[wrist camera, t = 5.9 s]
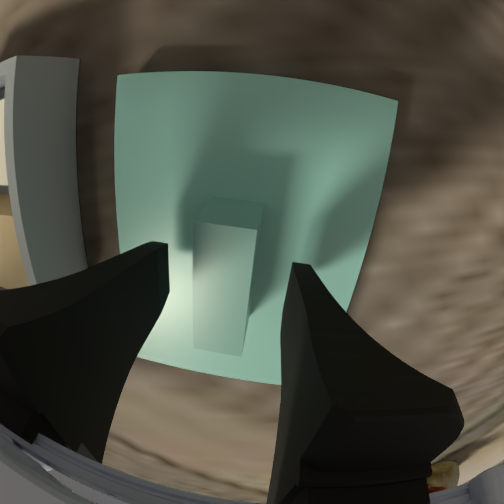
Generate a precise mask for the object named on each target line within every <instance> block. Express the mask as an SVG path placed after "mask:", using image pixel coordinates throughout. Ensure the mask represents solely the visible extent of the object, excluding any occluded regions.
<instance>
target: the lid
mask: <svg viewBox="0 0 504 504" xmlns="http://www.w3.org/2000/svg"><path fill="white" fill-rule="evenodd" d="M397 107H398V101H396V100H393V99H389V98H386V97H382V96H378V95H375V94H371V93H367V92H363V91H358V90H354V89H350V88H345V87H340V86H336V85H330V84H325V83H320V82H314V81H308V80H302V79H295V78H288V77H280V76H271V75H261V74H250V73H236V72H214V71H169V72H148V73H134V74H123V75H118V76H117V89H116V105H115V134H114V166H115V196H116V213H117V226H118V238H119V248H120V254H122V253H124V252H126V251H128V250H131V249H133V248H135V247H137V246H140V245H142V244H145V243H147V242H151V241H156V242H163V243H168V256H169V282H170V293H169V295H168V298H167V300H166V303H165V306H164V308H163V310H162V313H161V315H160V316H159V318H158V320H157V322H156V324H155V325H154V327H153V329H152V331H151V332H150V334H149V336H148V338H147V339H146V341H145V343H144V344H143V346H142V348H141V350H140V352H139V353H138V355H137V357H139V358H143V359H147V360H150V361H154V362H158V363H162V364H167V365H171V366H175V367H179V368H184V369H189V370H193V371H198V372H203V373H208V374H213V375H219V376H224V377H230V378H236V379H242V380H248V381H255V382H262V383H270V384H277V385H281V347H280V331H281V321H282V311H283V306H284V301H285V296H286V291H287V286H288V281H289V276H290V271H291V266H292V262H297V263H304V264H310V265H311V266H312V268H313V269H314V271H315V272H316V273H317V275H318V276H319V278H320V279H321V281H322V282H323V284H324V285H325V287H326V288H327V289H328V291H329V292H330V293H331V295H332V296H333V297H334V298H335V300H336V301H337V302H338V303H339V305H340V306H341V307H342V308H343V309H344V310H345V311H347V309H348V306H349V303H350V300H351V297H352V294H353V291H354V288H355V285H356V282H357V279H358V275H359V272H360V269H361V266H362V263H363V259H364V256H365V252H366V249H367V245H368V242H369V238H370V235H371V231H372V227H373V224H374V220H375V216H376V212H377V208H378V204H379V200H380V196H381V191H382V187H383V183H384V178H385V174H386V169H387V164H388V159H389V154H390V149H391V143H392V138H393V132H394V126H395V120H396V114H397Z"/></svg>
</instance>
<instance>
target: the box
mask: <svg viewBox="0 0 504 504" xmlns="http://www.w3.org/2000/svg"><path fill="white" fill-rule="evenodd" d="M79 62H80V59H76V58H65V57H51V56H26V55H17V56H14V57H12V58H9V59H7V60H5V61H3V62H0V290H7V289H15V288H21V287H26V286H31V285H35V284H39V283H43V282H47V281H51V280H55V279H59V278H62V277H65V276H68V275H71V274H74V273H77V272H80V271H82V270H85V269H87V268H88V263H87V258H86V252H85V245H84V238H83V231H82V223H81V215H80V205H79V194H78V181H77V162H76V103H77V85H78V73H79Z"/></svg>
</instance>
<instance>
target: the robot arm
mask: <svg viewBox="0 0 504 504" xmlns="http://www.w3.org/2000/svg"><path fill="white" fill-rule="evenodd" d="M169 293H170V282H169V256H168V243H163V242H156V241H151V242H147V243H145V244H142V245H140V246H137V247H135V248H133V249H131V250H128V251H126V252H124V253H122V254H120V255H117V256H115V257H113V258H111V259H109V260H106V261H104V262H101V263H99V264H97V265H94V266H92V267H90V268H87V269H85V270H82V271H80V272H77V273H74V274H71V275H68V276H65V277H62V278H59V279H55V280H51V281H47V282H43V283H39V284H35V285H31V286H26V287H21V288H15V289H7V290H0V504H97V503H95V502H93V501H90V500H88V499H86V498H84V497H82V496H80V495H78V494H76V493H74V492H72V490H71V489H69V488H68V487H67V486H65V485H64V484H62V483H61V482H60V481H58V480H57V479H56V478H54V477H53V476H52V475H51V474H49V473H48V472H47V471H50V470H53V469H55V470H56V471H58V472H60V473H62V474H64V475H65V476H67V477H69V478H71V479H74V480H75V481H78V482H80V483H81V484H83V485H86V486H88V487H90V488H92V489H94V490H97V491H99V492H101V493H104V494H106V495H108V496H111V497H113V498H116V499H118V500H121V501H124V502H127V503H129V504H258V503H249V502H241V501H234V500H228V499H222V498H216V497H211V496H205V495H201V494H196V493H191V492H187V491H183V490H179V489H175V488H171V487H167V486H164V485H160V484H157V483H154V482H150V481H147V480H144V479H141V478H138V477H135V476H132V475H129V474H126V473H124V472H121V471H118V470H116V469H113V468H111V467H108V466H106V465H103V464H102V460H103V455H104V451H105V446H106V442H107V438H108V434H109V430H110V427H111V423H112V420H113V416H114V413H115V410H116V407H117V404H118V401H119V398H120V395H121V392H122V389H123V387H124V384H125V382H126V379H127V376H128V374H129V371H130V369H131V367H132V365H133V363H134V361H135V359H136V357H137V355H138V353H139V352H140V350H141V348H142V346H143V344H144V343H145V341H146V339H147V338H148V336H149V334H150V332H151V331H152V329H153V327H154V325H155V324H156V322H157V320H158V318H159V316H160V315H161V313H162V310H163V308H164V306H165V303H166V300H167V298H168V295H169ZM280 347H281V403H280V413H279V422H278V431H277V439H276V447H275V454H274V461H273V468H272V474H271V480H270V486H269V492H268V498H267V503H266V504H504V463H502V464H499V465H497V466H494V467H492V468H489V469H487V470H485V471H483V472H482V473H480V474H479V475H477V476H476V477H474V478H473V479H472V480H470V481H469V483H466V484H463V485H460V486H456V487H453V488H449V489H446V490H442V491H438V492H434V493H429V490H428V484H427V478H429V477H430V476H431V475H432V467H431V461H433V460H434V459H435V458H436V457H437V456H439V455H440V454H441V453H442V452H443V451H444V450H446V449H447V448H448V447H449V446H450V445H451V444H452V443H453V442H454V441H455V440H456V439H457V438H458V436H459V435H460V433H461V431H462V429H463V427H464V418H463V415H462V412H461V410H460V407H459V404H458V401H457V399H456V396H455V394H454V391H453V389H451V388H449V387H447V386H445V385H443V384H441V383H439V382H437V381H435V380H433V379H431V378H429V377H427V376H426V375H424V374H422V373H420V372H419V371H417V370H415V369H414V368H412V367H411V366H409V365H408V364H406V363H404V362H403V361H401V360H400V359H399V358H397V357H396V356H394V355H393V354H392V353H390V352H389V351H388V350H386V349H385V348H384V347H383V346H381V345H380V344H379V343H378V342H376V341H375V340H374V339H373V338H372V337H370V336H369V335H368V334H367V333H366V332H365V331H364V330H363V329H362V328H361V327H360V326H359V325H358V324H357V323H356V322H355V321H354V320H353V319H352V318H351V317H350V316H349V315H348V314H347V313H346V311H345V310H344V309H343V308H342V307H341V306H340V305H339V303H338V302H337V301H336V300H335V298H334V297H333V296H332V295H331V293H330V292H329V291H328V289H327V288H326V287H325V285H324V284H323V282H322V281H321V279H320V278H319V276H318V275H317V273H316V272H315V271H314V269H313V268H312V266H311V265H310V264H304V263H297V262H292V266H291V271H290V276H289V281H288V286H287V291H286V296H285V301H284V306H283V311H282V321H281V331H280Z"/></svg>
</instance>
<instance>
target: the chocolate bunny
mask: <svg viewBox="0 0 504 504" xmlns="http://www.w3.org/2000/svg"><path fill="white" fill-rule="evenodd" d="M431 467H432V475H431V476H430V477H429V478H427V484H428V490H429V493H434V492H438V491H442V490H446V489H449V488H453V487H456V486H457V484H458V480H459V466H458V463H457V462H454V461H444V462H440V463H436V464H432V465H431Z"/></svg>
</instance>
